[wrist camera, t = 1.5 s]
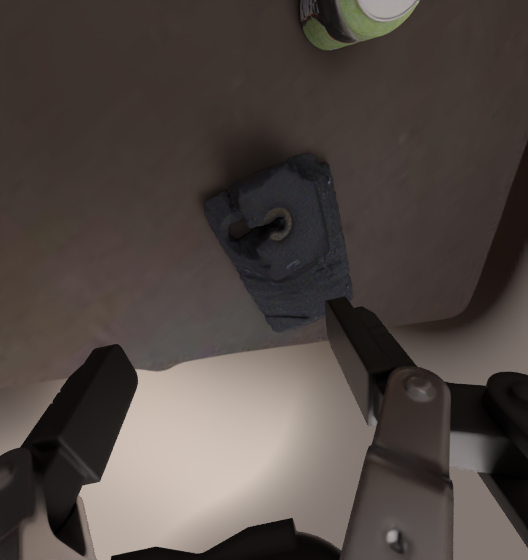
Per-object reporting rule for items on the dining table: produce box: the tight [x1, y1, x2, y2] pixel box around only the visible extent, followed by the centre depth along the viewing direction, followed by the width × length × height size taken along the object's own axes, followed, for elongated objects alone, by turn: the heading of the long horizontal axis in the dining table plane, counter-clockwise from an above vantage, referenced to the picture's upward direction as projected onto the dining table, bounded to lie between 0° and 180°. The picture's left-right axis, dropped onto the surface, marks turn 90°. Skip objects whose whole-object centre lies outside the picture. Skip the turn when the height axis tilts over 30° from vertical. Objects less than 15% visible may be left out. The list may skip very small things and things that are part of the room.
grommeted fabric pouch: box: [205, 154, 353, 333], centre depth 33 cm, size 15×22×5 cm
